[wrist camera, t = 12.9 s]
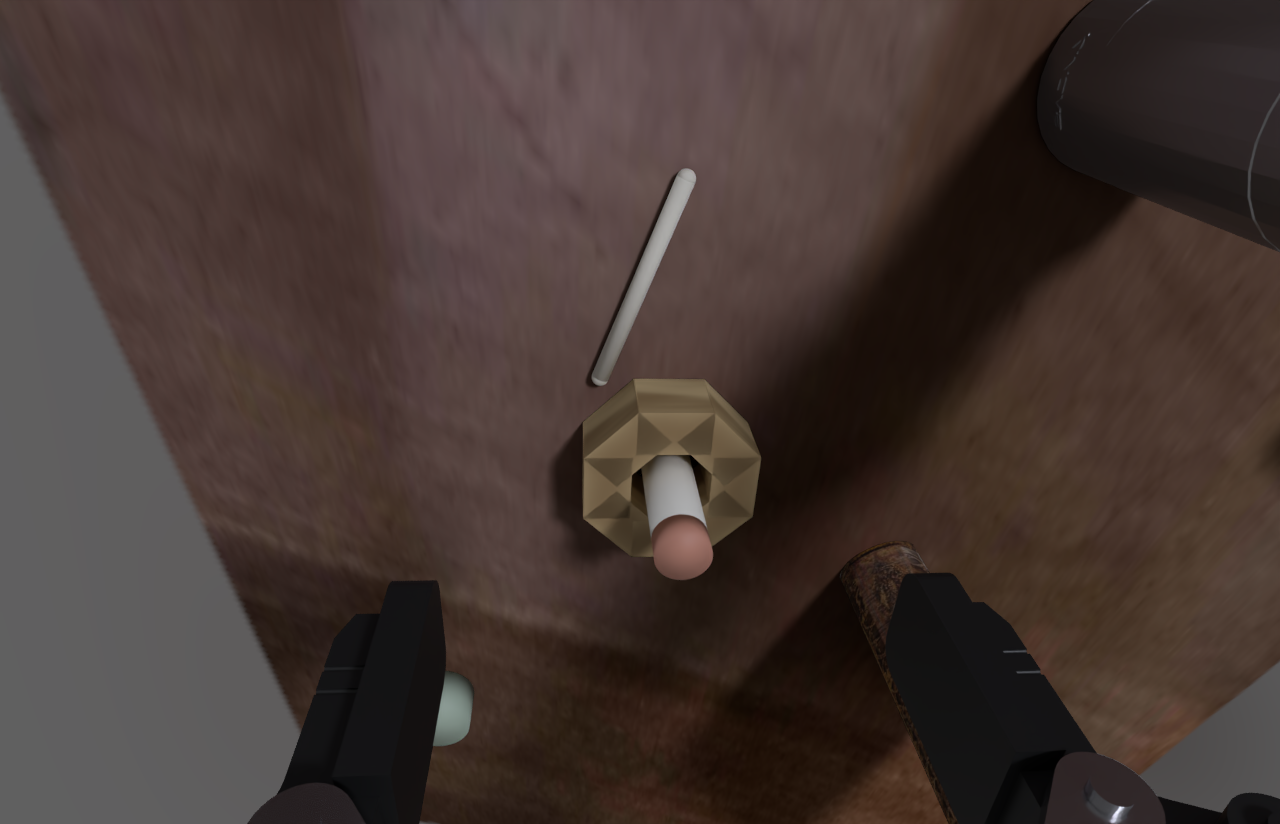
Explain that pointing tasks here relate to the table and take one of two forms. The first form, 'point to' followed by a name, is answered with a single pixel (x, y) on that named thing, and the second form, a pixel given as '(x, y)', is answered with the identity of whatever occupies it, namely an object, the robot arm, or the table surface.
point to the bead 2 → (666, 425)
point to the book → (888, 622)
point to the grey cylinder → (676, 517)
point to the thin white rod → (644, 274)
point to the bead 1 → (454, 709)
